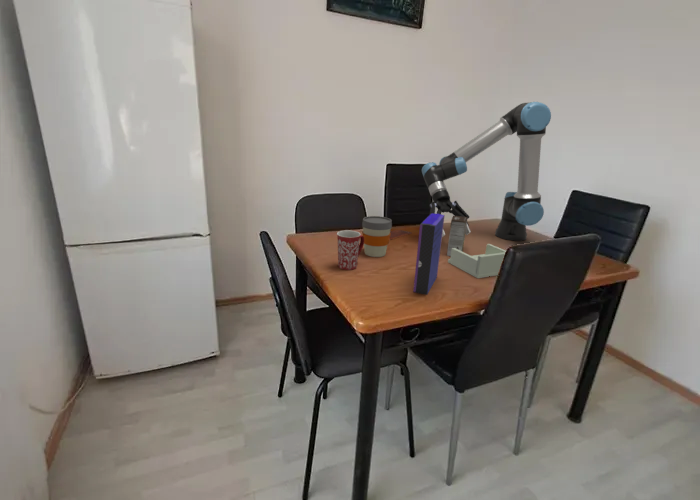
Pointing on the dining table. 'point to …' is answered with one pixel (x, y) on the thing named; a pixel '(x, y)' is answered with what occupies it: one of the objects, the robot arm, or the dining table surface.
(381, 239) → the reusable coffee cup
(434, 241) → the cereal box
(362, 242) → the mug
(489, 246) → the tray
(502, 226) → the robot arm
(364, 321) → the dining table surface
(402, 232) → the wooden tablet
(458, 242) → the coffee box
